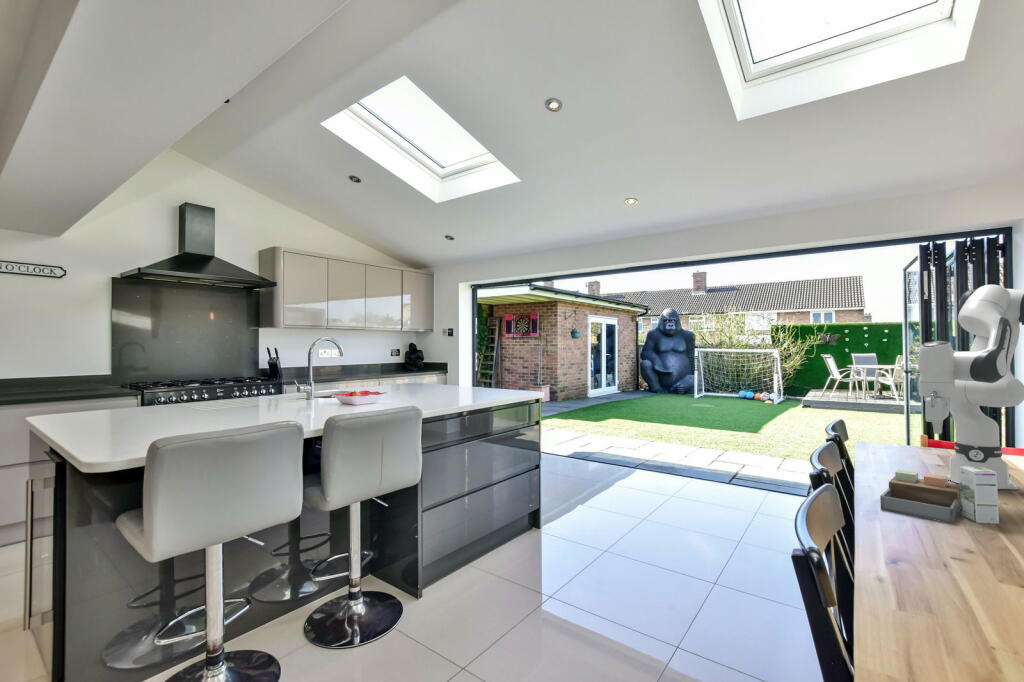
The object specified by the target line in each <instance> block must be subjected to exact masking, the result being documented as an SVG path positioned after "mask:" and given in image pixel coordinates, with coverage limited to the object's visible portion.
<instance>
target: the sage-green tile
mask: <svg viewBox="0 0 1024 682" xmlns="http://www.w3.org/2000/svg"><path fill="white" fill-rule="evenodd" d="M894 474H895V476H894V477H895V479H896V480H900V481H906V482H913V483H916V482H917V481H918V478H919V472H918V471H911V470H907V469H906V470H905V469H897V470H896V471H895V473H894Z"/></svg>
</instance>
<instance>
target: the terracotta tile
mask: <svg viewBox="0 0 1024 682" xmlns="http://www.w3.org/2000/svg"><path fill="white" fill-rule="evenodd" d="M923 479H924V484H926V485H932V486H939V487H945V488H946V486H947V485H948V483H949V480H948V476H944V475H942V474H941V475H940V474H933V473H925V474H924V475H923Z"/></svg>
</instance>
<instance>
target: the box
mask: <svg viewBox="0 0 1024 682" xmlns="http://www.w3.org/2000/svg"><path fill="white" fill-rule="evenodd" d="M880 510H883V511H887V512H892V513H898V514H902V515H907V516H913V517H917V516H918V518H923V517H924V518H923V519H928V518H930V519H929V520H933V519H936V520H935V521H938V520H940V521H939V522H943V521H944V522H943V523H948V522H949V523H948V524H954V523H955V521H954V520H956V518H957V516H958V514H959V512H958V500H957V499H955V500H954V501H953V503H952V505H951V507H950V508H947V507H942V506H936V505H931V504H925V503H919V502H914V501H908V500H903V499H897V498H892V497H891V488H889V487H888V488H887V489H886V490H885V491H884V492H883V493H882V494H881V495H880ZM953 522H954V523H953Z"/></svg>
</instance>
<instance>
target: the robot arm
mask: <svg viewBox="0 0 1024 682" xmlns="http://www.w3.org/2000/svg"><path fill="white" fill-rule="evenodd" d="M958 307H959V309H958V310H959V313H958V316H957V320H958V324H959V325H960V327H961V328H962V329H963V330H965V331H966V332H968V333H969V334H972V335H975V337H974V339H973V342H972V344H971V347H970V349H969V351H965V350H964V351H961V350H960V351H959V350H957V351H956V350H954V349H953V347H952V343H951V342H949V341H946V340H945V341H944V340H936V341H934V340H933V341H927V342H924V343H922V344H920V347H919V350H918V356H917V368H918V371H919V378H918V395H919V396H921V397H923V398H924V399H923V400H924V402H925V403H924V404H925V405H924V406H925V407H924V408H925V409H924V410H925V412H924V413H925V415H924V416H925V418H924V419H925V421H926V422H929V423H931V424H932V428H933V434H934V435H941V434H942V433H943V425H944V424H943V423H944V420H945V419H946V418H948V417H949V415H950V414H951V416H952V418H953V421H954V422H953V423H954V429H955V442H954V454H952V455H951V456H950V457H949V467H948V468H949V469H948V470H949V472H948V474H945V475H943V476H948V481H950V480H951V481H950V482H954V483H955V484H960V469H959V467H963V466H975V467H982V468H985V469H989V470H992V471H995V472H997V490H1019V489H1018V485H1016V484H1015V483H1014V482H1013V481H1012V480H1011V479H1010V477H1011V474H1010V473H1009V464H1008V463H1007V462H1006V461H1005V460H1004V459H1003V458H1002V457H1003V449H1002V446H1001V445H1000V425H999V424H998V422H997V421H996V420H995V419H993V418H991V417H990V416H987V414H985V413H984V412H983V411H982V410H981V408H980V407H991V408H1008V407H1009V408H1010V407H1018V406H1019V405H1020V404H1022V403H1023V402H1024V383H1023V381H1020V380H1019V379H1018V378H1016V377H1015V376H1014V375H1013V373H1012V371H1011V363H1012V360H1013V357H1014V354H1015V351H1016V349H1017V346H1018V343H1019V339H1020V332H1021V329H1020V328H1021V327H1020V323H1021V325H1022V326H1024V289H1017V288H1006V287H1004V286H1001V285H998V284H985V285H982V286H979V287H978V288H976V289H971V290H966V291H965V292H964V293H962V295H961V296H960V299H959V301H958Z"/></svg>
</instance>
